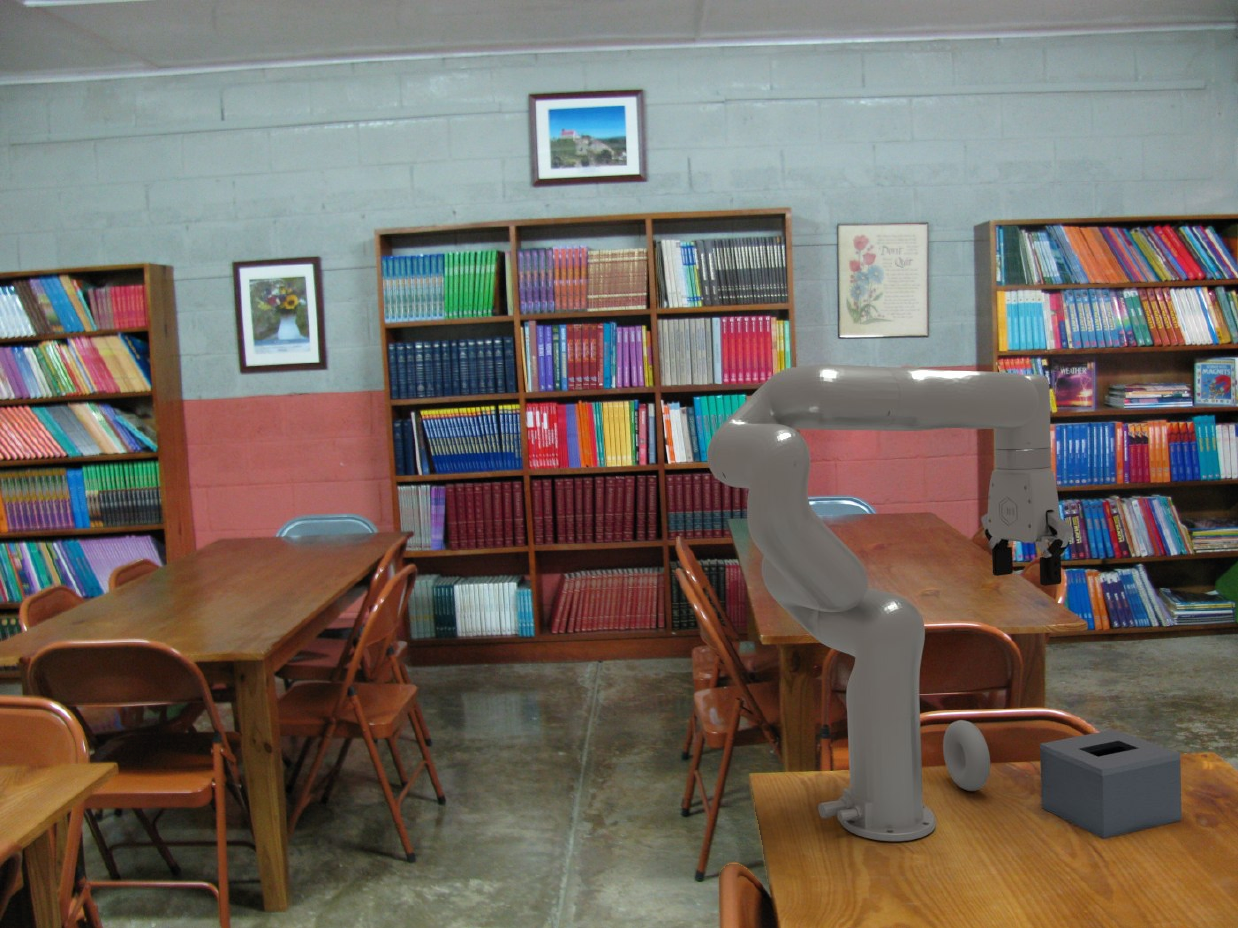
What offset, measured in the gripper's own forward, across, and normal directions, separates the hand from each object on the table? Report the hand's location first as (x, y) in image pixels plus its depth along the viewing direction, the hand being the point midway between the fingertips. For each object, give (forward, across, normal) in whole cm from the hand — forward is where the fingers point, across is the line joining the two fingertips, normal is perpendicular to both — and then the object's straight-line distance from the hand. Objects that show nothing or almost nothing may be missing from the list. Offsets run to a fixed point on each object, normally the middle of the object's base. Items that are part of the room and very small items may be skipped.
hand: (1026, 579), depth 146 cm
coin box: (+30, +12, +2) cm, 33 cm away
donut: (+31, -3, -9) cm, 32 cm away
